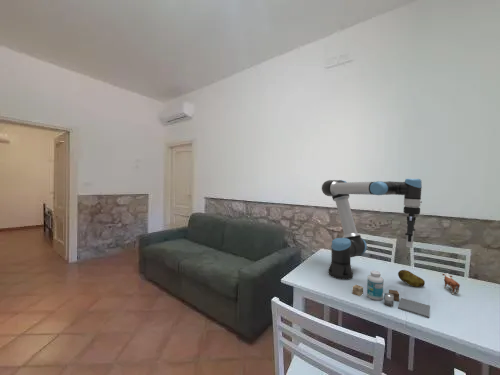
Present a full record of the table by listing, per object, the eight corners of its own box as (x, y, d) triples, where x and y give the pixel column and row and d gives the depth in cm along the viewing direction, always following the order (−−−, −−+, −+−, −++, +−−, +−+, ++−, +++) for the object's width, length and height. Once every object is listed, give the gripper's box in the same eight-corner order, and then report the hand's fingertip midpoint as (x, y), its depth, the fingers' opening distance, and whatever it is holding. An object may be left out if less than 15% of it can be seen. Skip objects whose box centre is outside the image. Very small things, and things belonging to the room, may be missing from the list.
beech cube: (352, 293, 127) (352, 286, 127) (355, 291, 130) (355, 284, 129) (359, 296, 124) (359, 289, 124) (363, 294, 126) (363, 287, 126)
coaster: (397, 308, 112) (397, 307, 112) (401, 299, 121) (401, 297, 121) (428, 318, 105) (429, 316, 105) (430, 307, 114) (430, 305, 114)
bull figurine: (449, 286, 137) (449, 272, 137) (461, 296, 125) (461, 281, 124) (440, 285, 139) (440, 271, 138) (451, 295, 126) (451, 280, 126)
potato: (422, 290, 131) (423, 276, 131) (396, 283, 140) (396, 270, 140) (425, 286, 137) (425, 272, 137) (400, 279, 146) (400, 266, 146)
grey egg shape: (383, 304, 116) (383, 294, 116) (385, 301, 119) (385, 292, 119) (392, 307, 113) (393, 297, 113) (394, 304, 116) (394, 294, 116)
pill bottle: (364, 293, 127) (365, 269, 127) (378, 294, 127) (378, 269, 126) (371, 300, 120) (371, 274, 119) (385, 301, 119) (386, 275, 119)
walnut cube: (390, 300, 120) (390, 292, 120) (388, 296, 124) (388, 289, 124) (399, 301, 119) (399, 294, 119) (397, 298, 123) (397, 290, 123)
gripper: (420, 209, 115) (417, 251, 116) (420, 205, 135) (418, 241, 136) (402, 208, 120) (399, 248, 121) (405, 204, 140) (403, 238, 141)
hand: (409, 244), depth 129 cm, fingers open, 13 cm apart
